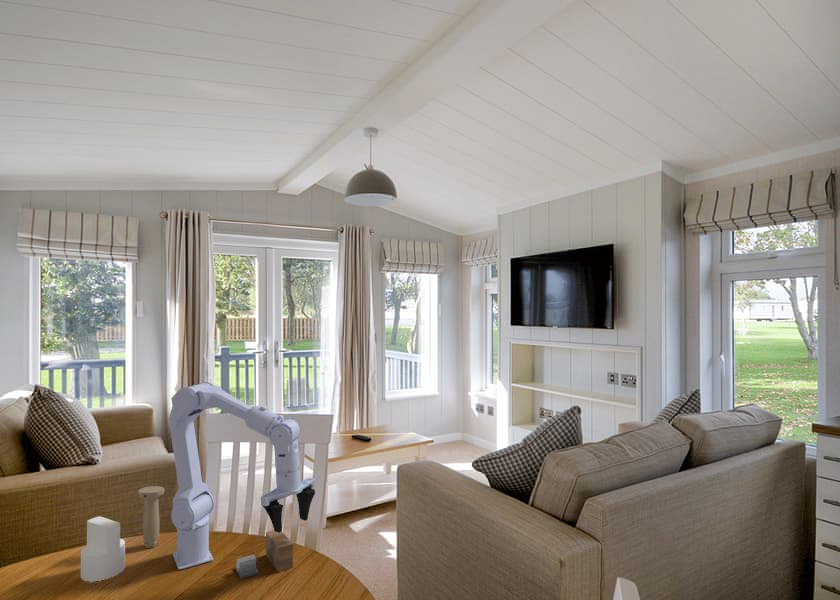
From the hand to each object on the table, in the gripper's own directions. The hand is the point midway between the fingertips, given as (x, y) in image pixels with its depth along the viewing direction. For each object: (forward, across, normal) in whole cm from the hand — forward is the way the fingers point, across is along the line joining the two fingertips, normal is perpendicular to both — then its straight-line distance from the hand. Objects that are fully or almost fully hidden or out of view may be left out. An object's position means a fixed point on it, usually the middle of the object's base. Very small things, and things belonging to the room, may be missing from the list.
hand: (291, 525), depth 121 cm
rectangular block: (+10, -1, +5) cm, 11 cm away
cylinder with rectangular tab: (+8, -30, +34) cm, 46 cm away
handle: (+8, -18, +39) cm, 43 cm away
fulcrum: (+10, -8, +7) cm, 15 cm away
